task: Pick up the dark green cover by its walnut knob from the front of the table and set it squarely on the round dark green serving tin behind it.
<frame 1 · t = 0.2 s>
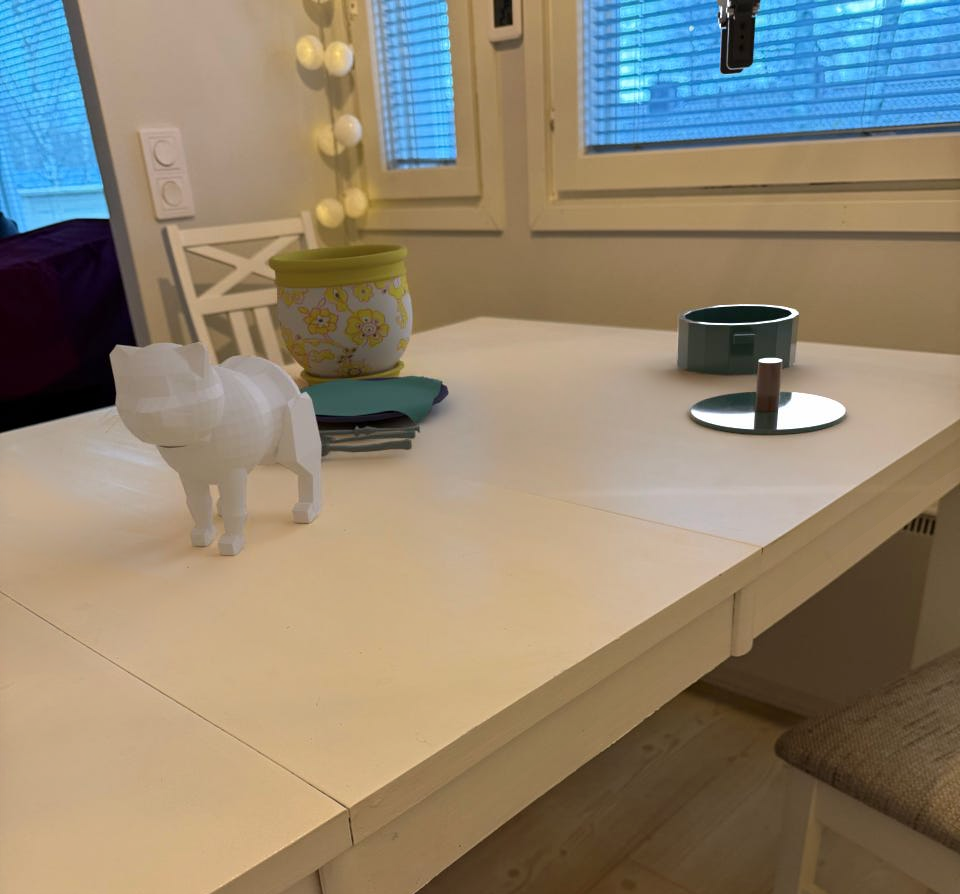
hand: (735, 71, 87), 32 cm above the table, tool pointing down, fingers open, 8 cm apart
cat figurine: (250, 529, 81), on the table
cover: (766, 413, 99), point 1 cm above the table
tin: (734, 366, 122), on the table
flowerpot: (354, 381, 131), on the table
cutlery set: (360, 424, 109), on the table
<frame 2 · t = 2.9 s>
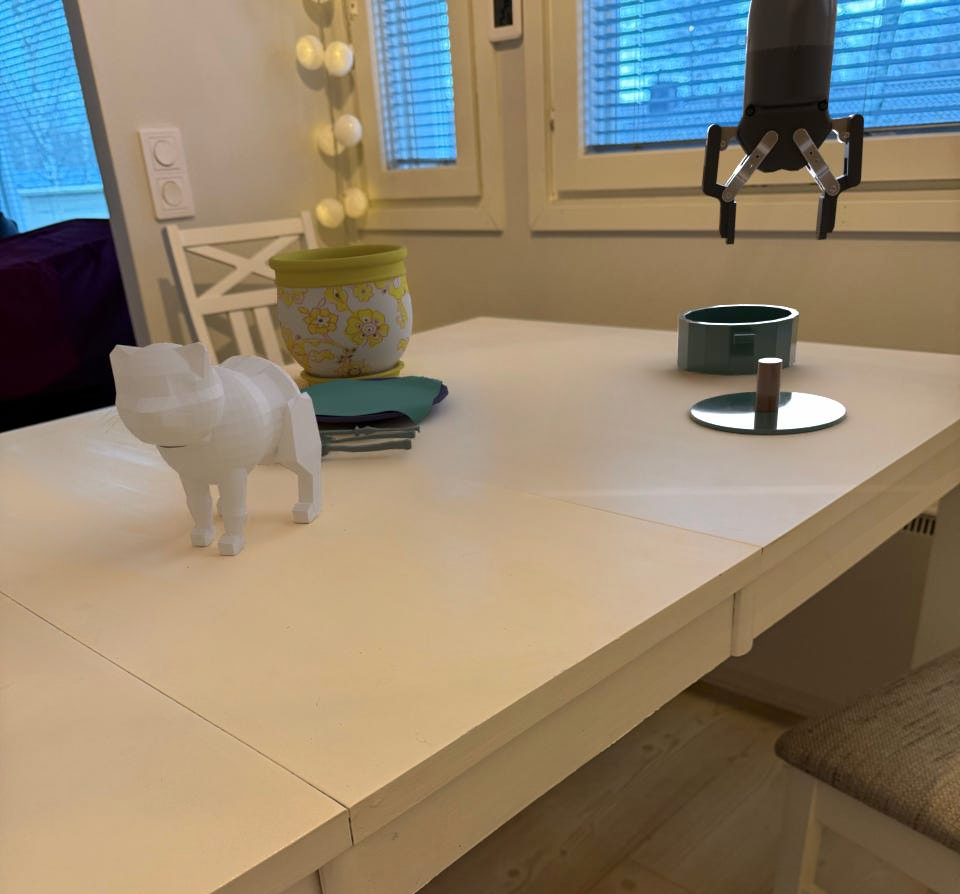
hand: (775, 241, 92), 17 cm above the table, tool pointing down, fingers open, 8 cm apart
nothing on the table moved.
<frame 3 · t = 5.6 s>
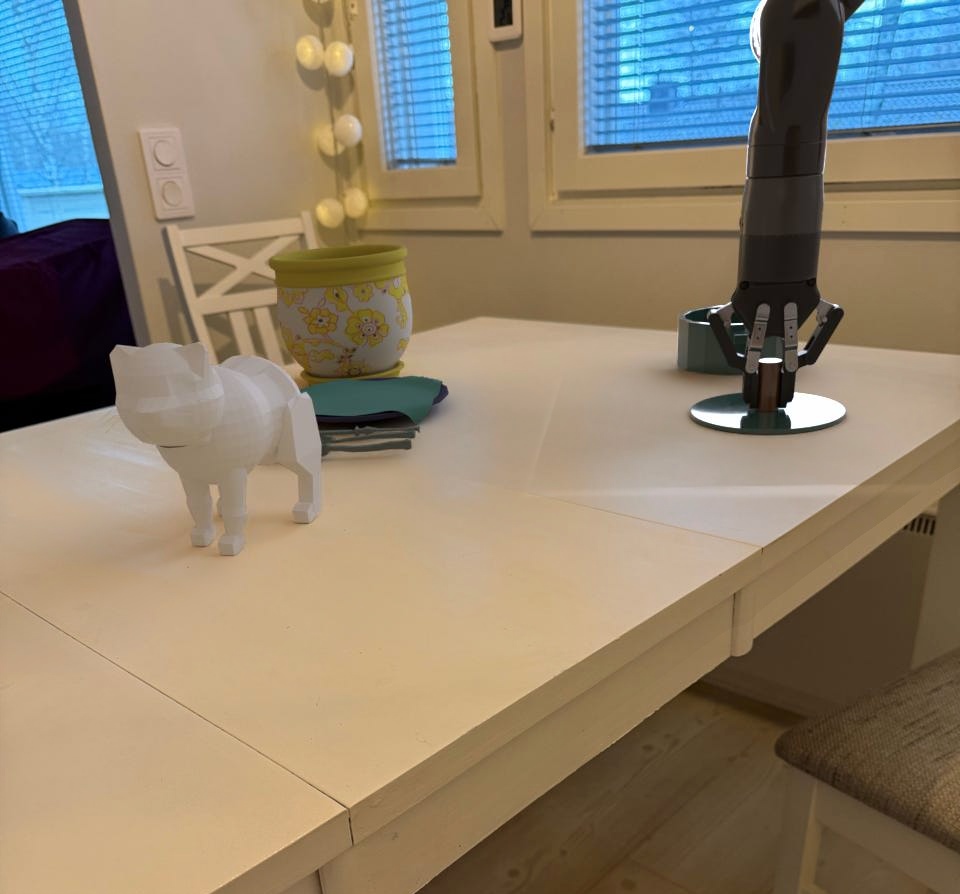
hand: (767, 406, 99), 1 cm above the table, tool pointing down, fingers closed on cover, 2 cm apart
cover: (766, 413, 99), point 1 cm above the table, touching gripper
everything else where it was.
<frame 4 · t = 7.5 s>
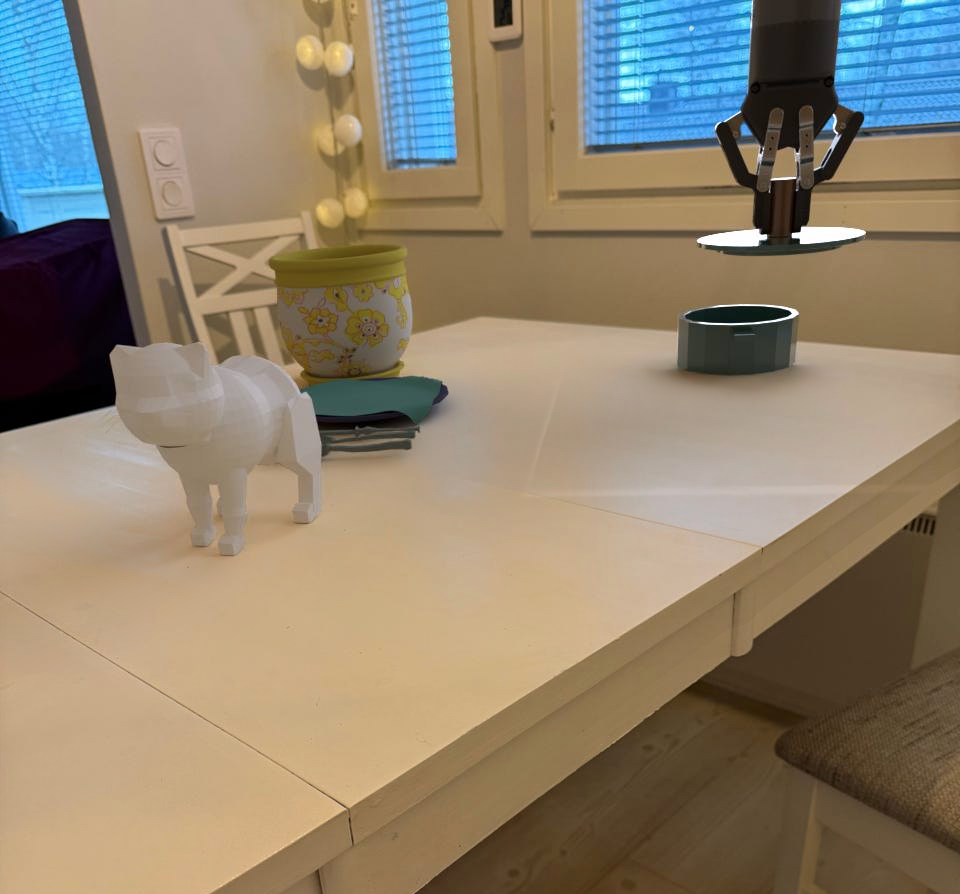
hand: (779, 232, 91), 18 cm above the table, tool pointing down, fingers closed on cover, 2 cm apart
cover: (779, 241, 92), point 17 cm above the table, touching gripper
everything else where it was.
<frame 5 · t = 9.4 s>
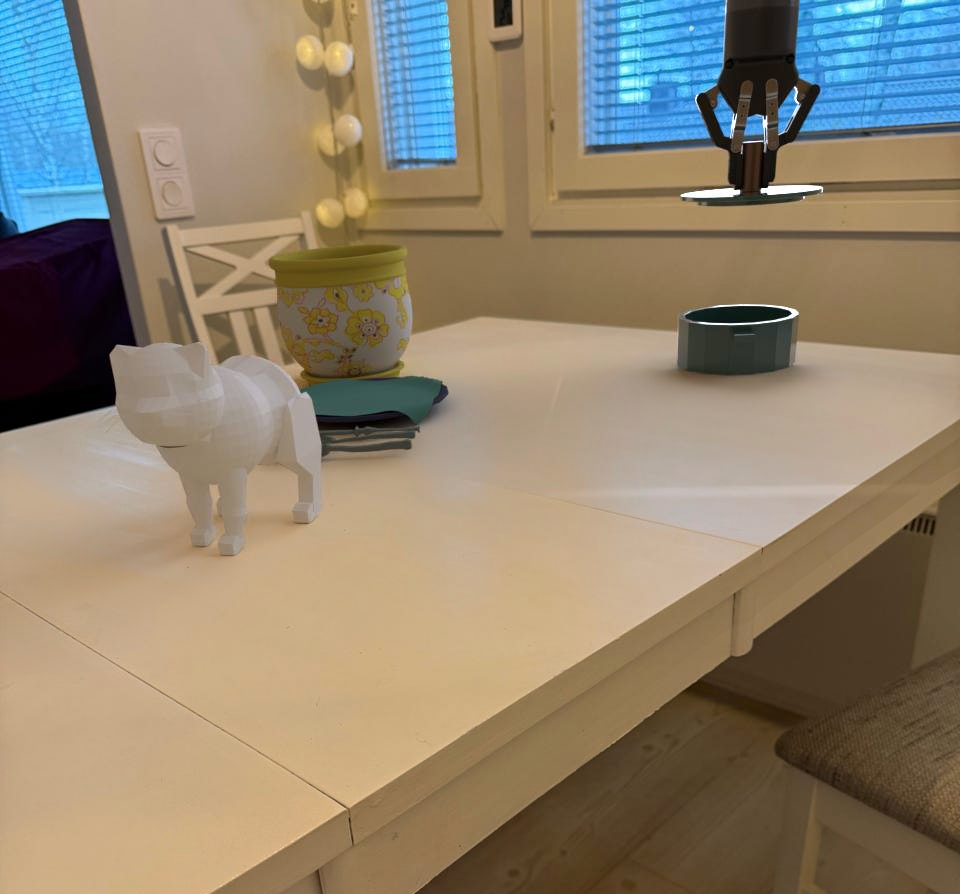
hand: (750, 188, 107), 21 cm above the table, tool pointing down, fingers closed on cover, 2 cm apart
cover: (750, 196, 108), point 20 cm above the table, touching gripper
everything else where it was.
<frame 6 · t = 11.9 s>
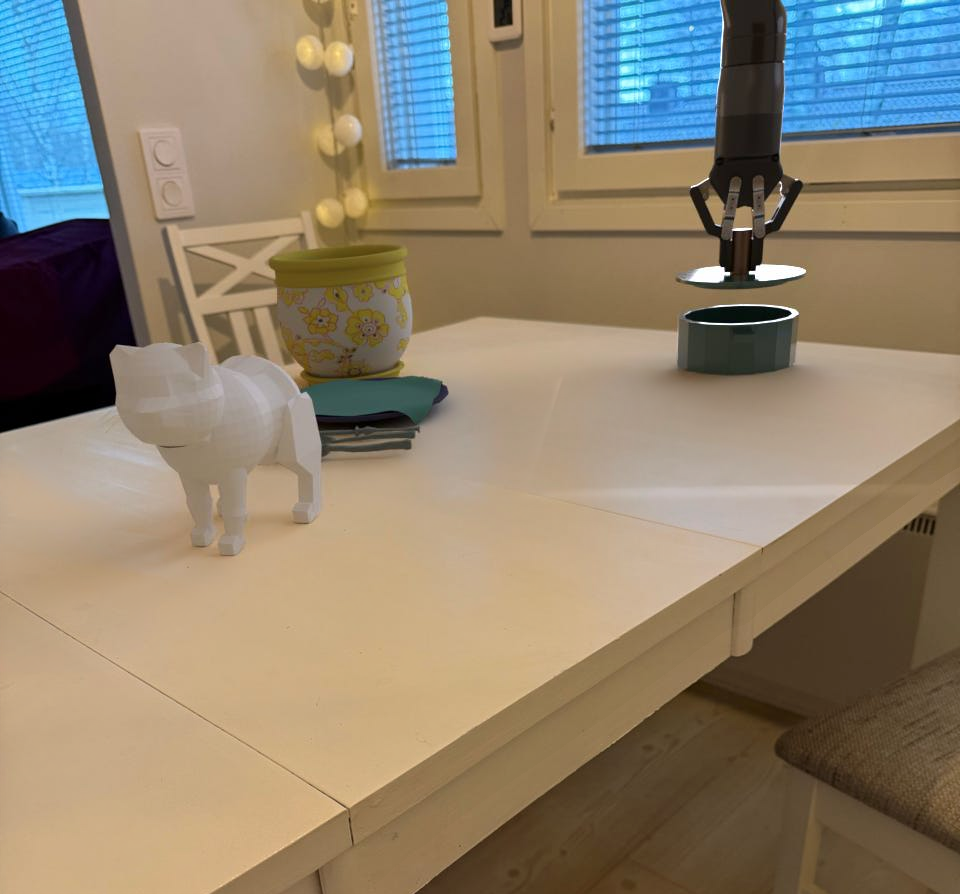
hand: (740, 270, 117), 12 cm above the table, tool pointing down, fingers closed on cover, 2 cm apart
cover: (739, 277, 117), point 11 cm above the table, touching gripper
everything else where it was.
when the fingers open (7 cm above the table, at t = 13.3 s): cover stays where it is, resting on tin.
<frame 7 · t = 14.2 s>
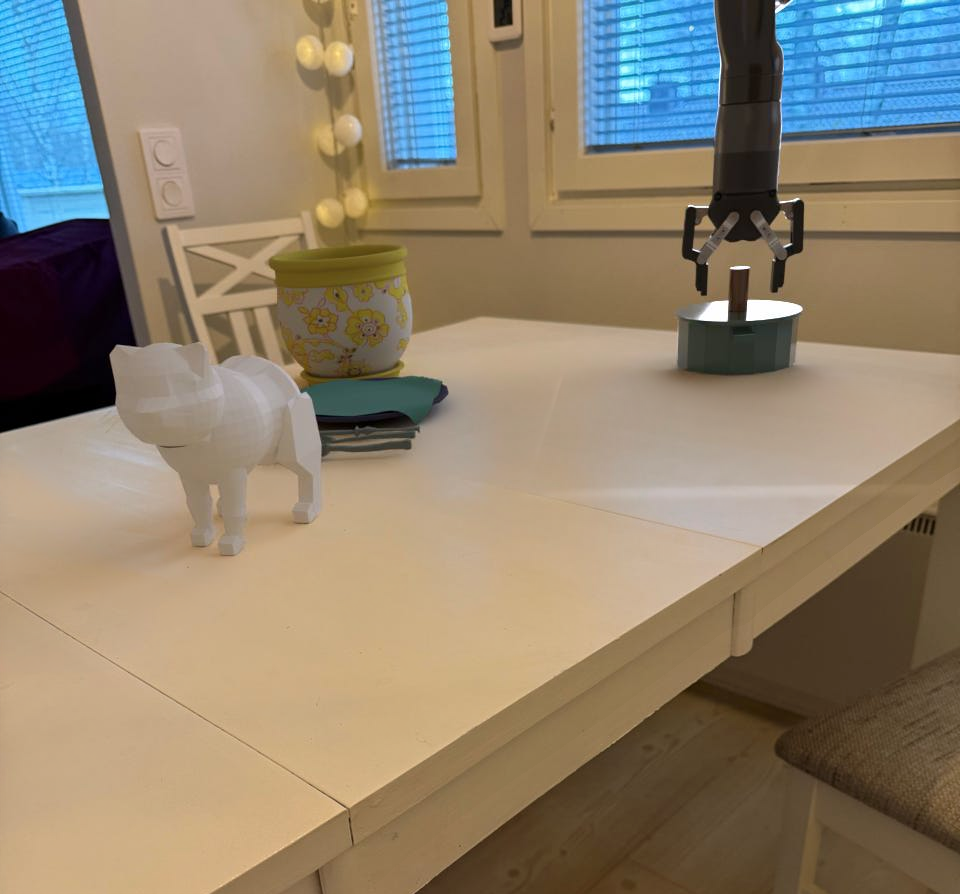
hand: (738, 293, 118), 9 cm above the table, tool pointing down, fingers open, 8 cm apart
cover: (737, 314, 119), point 6 cm above the table, touching tin
everything else where it was.
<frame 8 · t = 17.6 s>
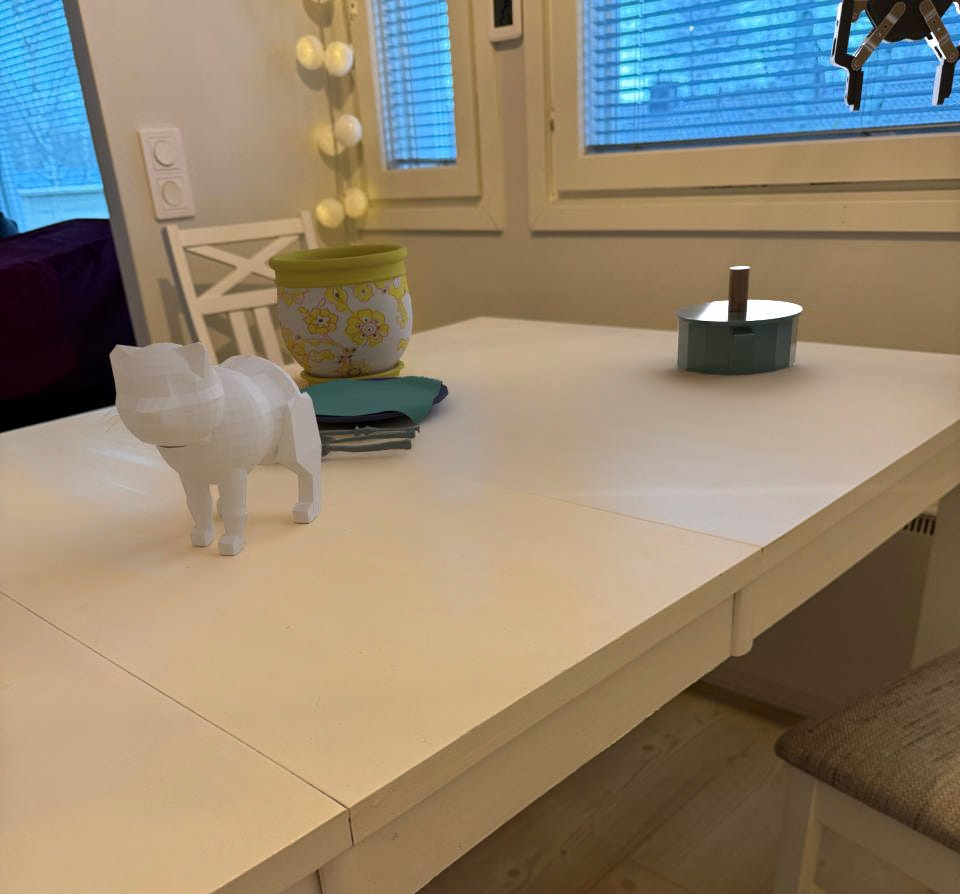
hand: (895, 108, 103), 28 cm above the table, tool pointing down, fingers open, 8 cm apart
nothing on the table moved.
at the end: cover 0.0 cm off-centre on the tin, point 6.5 cm above the tin's base; cover tilted 0°; the gripper is holding nothing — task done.
